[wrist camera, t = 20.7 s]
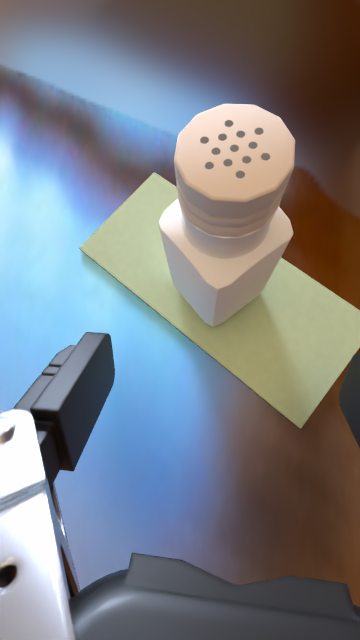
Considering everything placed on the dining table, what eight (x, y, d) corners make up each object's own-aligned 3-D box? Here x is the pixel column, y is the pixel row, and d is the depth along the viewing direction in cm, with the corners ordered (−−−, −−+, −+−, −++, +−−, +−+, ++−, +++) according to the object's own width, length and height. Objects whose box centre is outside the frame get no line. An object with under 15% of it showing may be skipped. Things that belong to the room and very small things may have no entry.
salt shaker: (221, 241, 18) (242, 68, 9) (267, 290, 17) (347, 153, 7) (168, 280, 17) (129, 142, 8) (211, 333, 16) (224, 244, 7)
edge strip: (375, 323, 16) (378, 322, 16) (299, 428, 15) (300, 429, 15) (154, 174, 20) (154, 172, 19) (80, 249, 18) (78, 248, 18)
